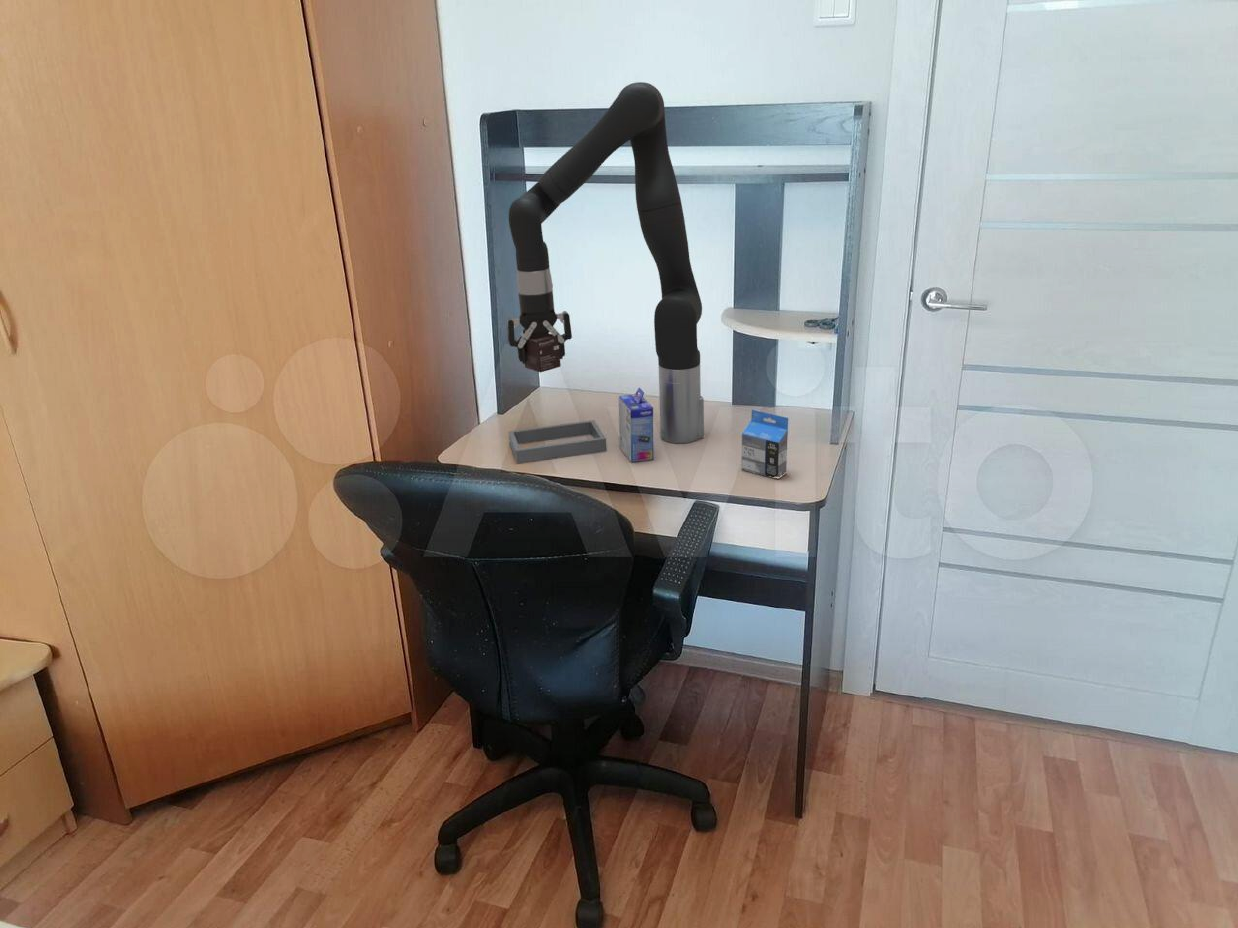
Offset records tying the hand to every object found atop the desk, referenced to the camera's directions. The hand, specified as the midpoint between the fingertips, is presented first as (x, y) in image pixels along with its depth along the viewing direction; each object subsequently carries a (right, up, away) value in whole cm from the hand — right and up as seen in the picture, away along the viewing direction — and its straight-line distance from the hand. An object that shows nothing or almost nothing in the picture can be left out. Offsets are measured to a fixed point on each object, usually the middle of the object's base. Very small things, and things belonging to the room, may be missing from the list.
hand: (542, 360), depth 205 cm
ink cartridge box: (+21, -21, -6) cm, 31 cm away
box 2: (+3, -20, -1) cm, 20 cm away
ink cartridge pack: (+47, -25, -18) cm, 56 cm away
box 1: (0, -2, +1) cm, 2 cm away
